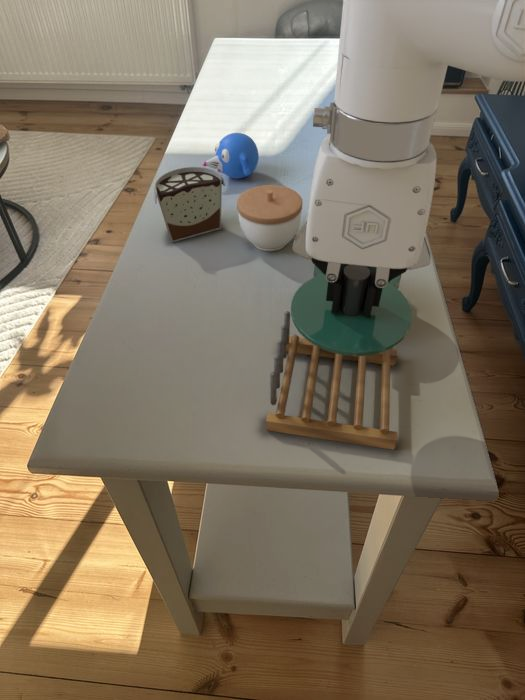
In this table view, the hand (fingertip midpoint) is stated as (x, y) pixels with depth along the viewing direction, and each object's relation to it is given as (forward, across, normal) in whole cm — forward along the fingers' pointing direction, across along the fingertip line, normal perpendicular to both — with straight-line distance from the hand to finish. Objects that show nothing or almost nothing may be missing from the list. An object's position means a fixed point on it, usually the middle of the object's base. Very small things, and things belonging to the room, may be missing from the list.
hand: (351, 305), depth 50 cm
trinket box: (+15, -14, +32) cm, 38 cm away
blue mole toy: (+15, -26, +52) cm, 61 cm away
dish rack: (+15, 0, 0) cm, 15 cm away
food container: (+15, -29, +34) cm, 47 cm away
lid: (+1, 0, 0) cm, 1 cm away
